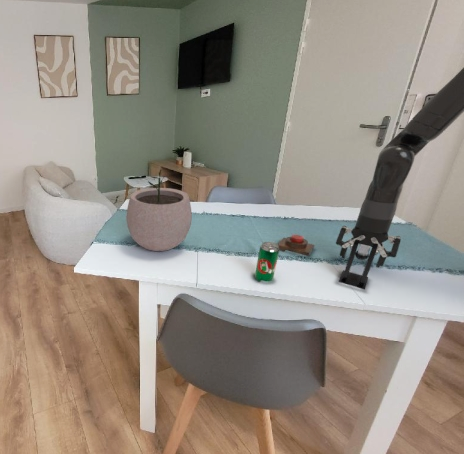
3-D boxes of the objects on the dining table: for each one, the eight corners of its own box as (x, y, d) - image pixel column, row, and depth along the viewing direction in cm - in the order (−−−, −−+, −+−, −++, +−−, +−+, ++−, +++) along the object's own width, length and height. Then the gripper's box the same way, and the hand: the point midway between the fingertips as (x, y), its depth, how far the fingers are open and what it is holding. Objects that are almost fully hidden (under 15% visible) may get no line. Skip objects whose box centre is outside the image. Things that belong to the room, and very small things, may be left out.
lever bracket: (342, 273, 91) (354, 236, 86) (367, 280, 87) (381, 242, 82) (337, 284, 86) (350, 246, 81) (363, 292, 82) (378, 252, 77)
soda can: (265, 274, 93) (272, 240, 88) (276, 282, 88) (284, 247, 83) (250, 276, 92) (256, 242, 87) (261, 285, 87) (268, 249, 83)
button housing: (313, 250, 105) (315, 240, 104) (307, 258, 100) (310, 248, 99) (282, 242, 112) (284, 233, 110) (275, 249, 107) (278, 240, 105)
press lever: (353, 258, 93) (356, 249, 93) (366, 261, 91) (370, 252, 91) (354, 252, 82) (358, 242, 82) (369, 256, 80) (373, 245, 80)
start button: (303, 240, 105) (304, 236, 104) (301, 244, 102) (302, 239, 102) (292, 238, 107) (293, 233, 106) (289, 241, 105) (290, 237, 104)
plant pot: (125, 234, 125) (124, 164, 113) (182, 233, 124) (186, 162, 112) (127, 262, 103) (126, 179, 91) (196, 261, 102) (204, 177, 90)
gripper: (343, 212, 88) (330, 259, 94) (409, 223, 79) (389, 274, 85) (347, 206, 93) (334, 250, 99) (410, 215, 83) (391, 264, 90)
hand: (359, 261), depth 92 cm, fingers open, 8 cm apart
